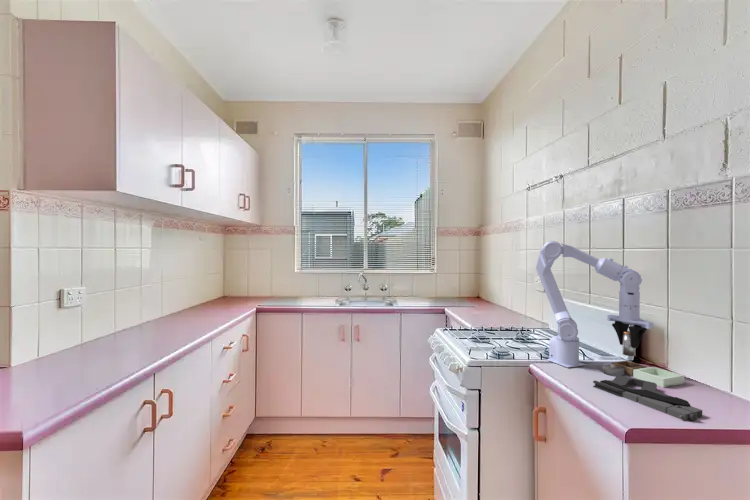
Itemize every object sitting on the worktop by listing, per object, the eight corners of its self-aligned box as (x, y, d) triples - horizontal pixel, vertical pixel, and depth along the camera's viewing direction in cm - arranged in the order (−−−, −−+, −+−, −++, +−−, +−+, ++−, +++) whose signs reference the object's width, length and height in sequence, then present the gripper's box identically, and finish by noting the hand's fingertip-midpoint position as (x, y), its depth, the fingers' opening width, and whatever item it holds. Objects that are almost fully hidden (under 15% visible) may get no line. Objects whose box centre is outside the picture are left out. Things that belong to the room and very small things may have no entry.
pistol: (625, 373, 119) (590, 379, 114) (725, 405, 95) (687, 415, 90) (625, 380, 119) (590, 387, 114) (725, 414, 95) (687, 424, 90)
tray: (633, 377, 121) (633, 369, 121) (653, 374, 124) (653, 366, 124) (663, 387, 112) (663, 379, 112) (684, 383, 115) (684, 375, 115)
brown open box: (597, 371, 127) (597, 362, 127) (626, 366, 131) (626, 358, 131) (616, 377, 120) (616, 369, 120) (647, 373, 125) (647, 364, 125)
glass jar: (619, 353, 128) (620, 331, 128) (627, 352, 129) (627, 330, 129) (630, 356, 125) (630, 333, 125) (638, 355, 126) (638, 332, 126)
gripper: (660, 308, 121) (659, 350, 121) (617, 301, 135) (617, 339, 135) (644, 309, 119) (643, 352, 119) (603, 302, 133) (602, 341, 133)
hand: (628, 346), depth 127 cm, fingers closed on glass jar, 4 cm apart
